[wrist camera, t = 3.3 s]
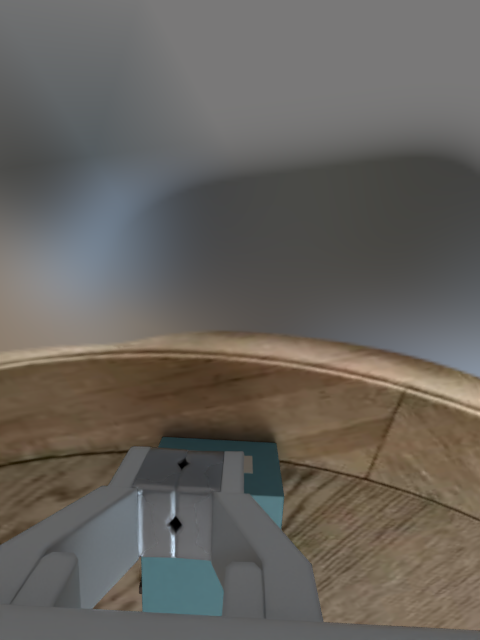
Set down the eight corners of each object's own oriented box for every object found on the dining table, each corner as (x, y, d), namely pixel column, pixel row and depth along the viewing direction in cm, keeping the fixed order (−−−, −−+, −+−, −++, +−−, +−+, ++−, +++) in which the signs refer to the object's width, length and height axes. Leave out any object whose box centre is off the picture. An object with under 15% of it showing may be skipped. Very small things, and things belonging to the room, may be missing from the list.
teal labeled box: (162, 435, 21) (139, 487, 16) (276, 441, 20) (284, 495, 16) (163, 579, 23) (143, 658, 19) (264, 585, 23) (269, 666, 19)
